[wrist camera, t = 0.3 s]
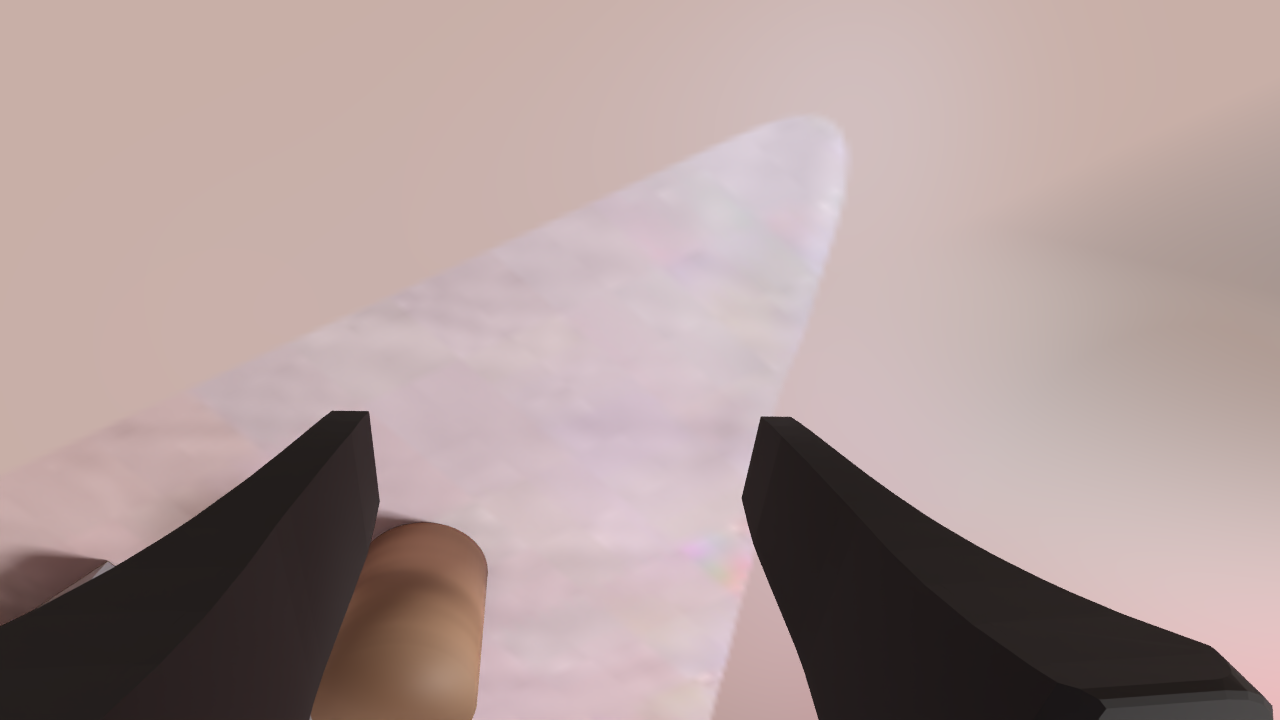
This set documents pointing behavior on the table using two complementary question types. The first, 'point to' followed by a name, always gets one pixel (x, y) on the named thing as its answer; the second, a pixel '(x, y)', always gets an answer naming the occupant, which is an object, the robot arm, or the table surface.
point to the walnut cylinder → (410, 631)
